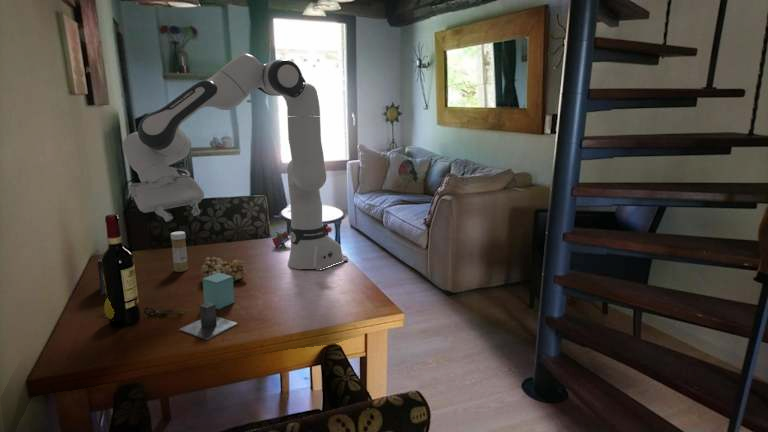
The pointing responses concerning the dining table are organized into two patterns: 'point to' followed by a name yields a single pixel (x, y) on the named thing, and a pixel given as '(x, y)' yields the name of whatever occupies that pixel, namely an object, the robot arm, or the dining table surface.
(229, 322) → the post
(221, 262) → the mineral formation
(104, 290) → the box
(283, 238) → the geometric puzzle
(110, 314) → the lemon
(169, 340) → the dining table surface
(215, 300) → the tall teal block
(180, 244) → the sprinkles bottle
